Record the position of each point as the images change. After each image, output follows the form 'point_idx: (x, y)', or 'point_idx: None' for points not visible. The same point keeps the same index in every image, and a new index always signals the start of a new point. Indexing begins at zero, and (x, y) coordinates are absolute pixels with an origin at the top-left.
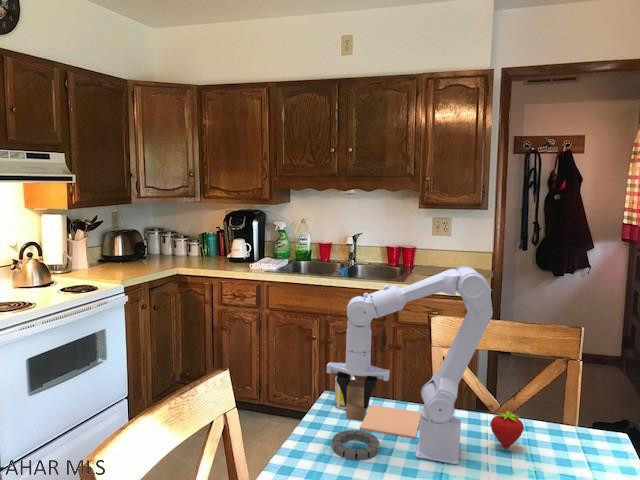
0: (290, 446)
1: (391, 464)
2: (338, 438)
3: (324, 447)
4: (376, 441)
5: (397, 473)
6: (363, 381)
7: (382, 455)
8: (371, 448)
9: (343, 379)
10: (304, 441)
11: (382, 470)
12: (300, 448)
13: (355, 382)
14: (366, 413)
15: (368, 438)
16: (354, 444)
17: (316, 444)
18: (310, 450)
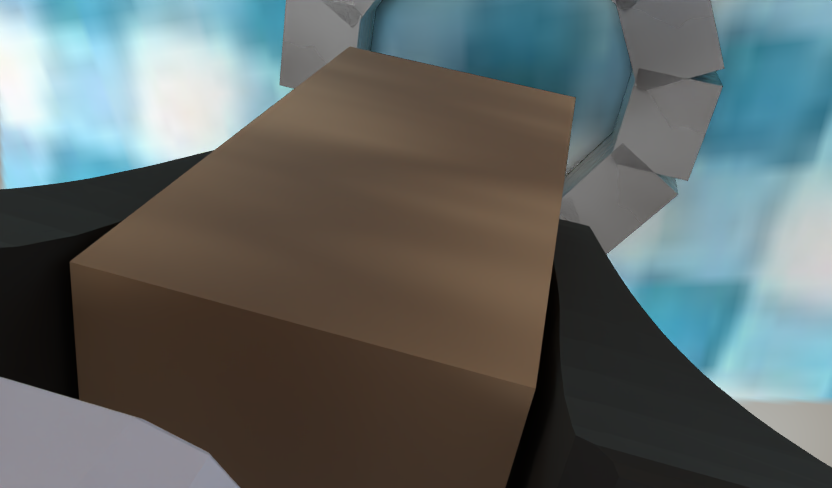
0: (24, 109)
1: (779, 290)
2: (331, 50)
3: (251, 96)
4: (693, 62)
5: (800, 390)
6: (416, 378)
7: (726, 172)
8: (629, 190)
9: None
10: (85, 23)
11: (692, 360)
12: (95, 129)
13: (221, 435)
14: (574, 104)
15: (616, 4)
16: (486, 17)
17: (183, 58)
18: (167, 149)
